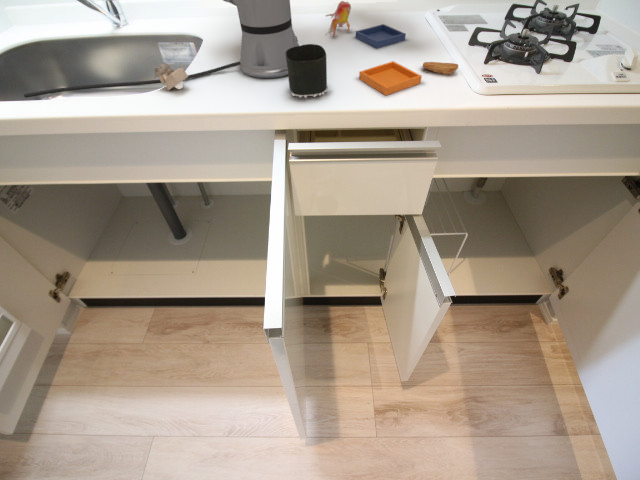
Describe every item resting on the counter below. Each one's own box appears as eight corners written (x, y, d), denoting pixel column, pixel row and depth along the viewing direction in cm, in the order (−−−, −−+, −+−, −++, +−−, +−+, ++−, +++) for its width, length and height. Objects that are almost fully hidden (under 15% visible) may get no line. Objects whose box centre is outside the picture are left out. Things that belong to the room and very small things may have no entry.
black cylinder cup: (322, 42, 67) (323, 80, 73) (282, 47, 66) (287, 85, 72) (330, 58, 62) (331, 97, 68) (288, 64, 61) (292, 103, 67)
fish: (347, 12, 94) (335, -18, 85) (359, 14, 92) (347, -16, 83) (326, 51, 95) (311, 26, 86) (337, 55, 93) (323, 29, 84)
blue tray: (376, 48, 84) (377, 41, 83) (355, 37, 90) (355, 31, 88) (405, 40, 87) (405, 33, 86) (382, 30, 92) (383, 23, 91)
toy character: (178, 90, 77) (159, 66, 74) (193, 80, 72) (174, 53, 69) (165, 99, 75) (146, 74, 72) (180, 89, 70) (160, 62, 67)
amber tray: (385, 95, 68) (386, 87, 67) (359, 78, 73) (359, 71, 72) (420, 83, 71) (421, 75, 69) (392, 68, 76) (393, 61, 75)
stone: (427, 61, 71) (423, 56, 74) (423, 72, 72) (420, 66, 76) (460, 66, 71) (454, 60, 74) (456, 77, 72) (451, 70, 76)
